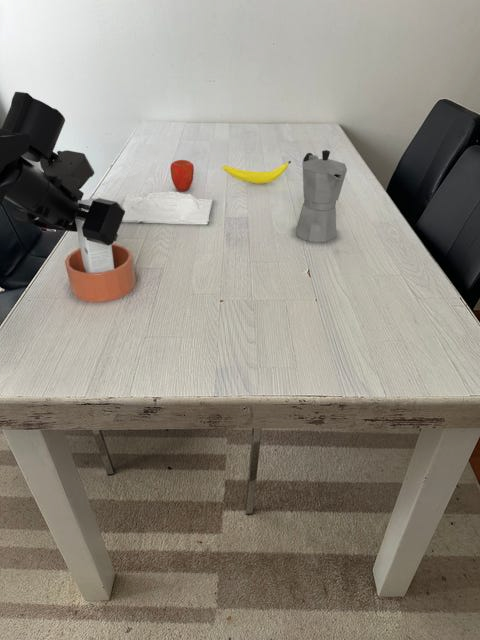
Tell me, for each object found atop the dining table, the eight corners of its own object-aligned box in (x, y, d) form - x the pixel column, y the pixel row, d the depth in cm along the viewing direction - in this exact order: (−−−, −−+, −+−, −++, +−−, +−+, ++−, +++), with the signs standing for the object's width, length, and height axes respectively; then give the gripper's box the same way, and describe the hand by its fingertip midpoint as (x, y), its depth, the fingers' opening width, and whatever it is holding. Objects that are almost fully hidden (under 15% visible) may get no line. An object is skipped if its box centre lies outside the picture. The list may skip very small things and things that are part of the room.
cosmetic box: (82, 266, 79) (68, 201, 72) (107, 260, 81) (96, 196, 74) (92, 282, 75) (78, 214, 68) (118, 275, 77) (107, 209, 70)
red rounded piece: (198, 191, 118) (197, 163, 114) (176, 195, 116) (174, 166, 111) (189, 184, 123) (188, 156, 118) (168, 187, 120) (166, 159, 116)
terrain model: (122, 203, 113) (119, 184, 110) (212, 198, 115) (210, 178, 112) (113, 230, 100) (108, 209, 97) (214, 224, 101) (213, 203, 98)
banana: (221, 181, 124) (221, 158, 121) (288, 182, 125) (290, 159, 121) (221, 185, 122) (221, 162, 118) (289, 185, 123) (291, 162, 119)
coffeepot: (349, 244, 94) (364, 158, 84) (309, 250, 92) (319, 162, 81) (317, 216, 106) (326, 137, 95) (280, 220, 104) (286, 140, 93)
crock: (76, 308, 74) (68, 280, 71) (68, 276, 82) (61, 249, 79) (142, 294, 78) (138, 267, 74) (128, 264, 86) (124, 239, 83)
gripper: (106, 146, 58) (161, 200, 73) (5, 128, 65) (74, 181, 79) (75, 223, 57) (137, 263, 71) (-24, 197, 63) (51, 238, 78)
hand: (99, 233), depth 75 cm, fingers closed on cosmetic box, 7 cm apart
